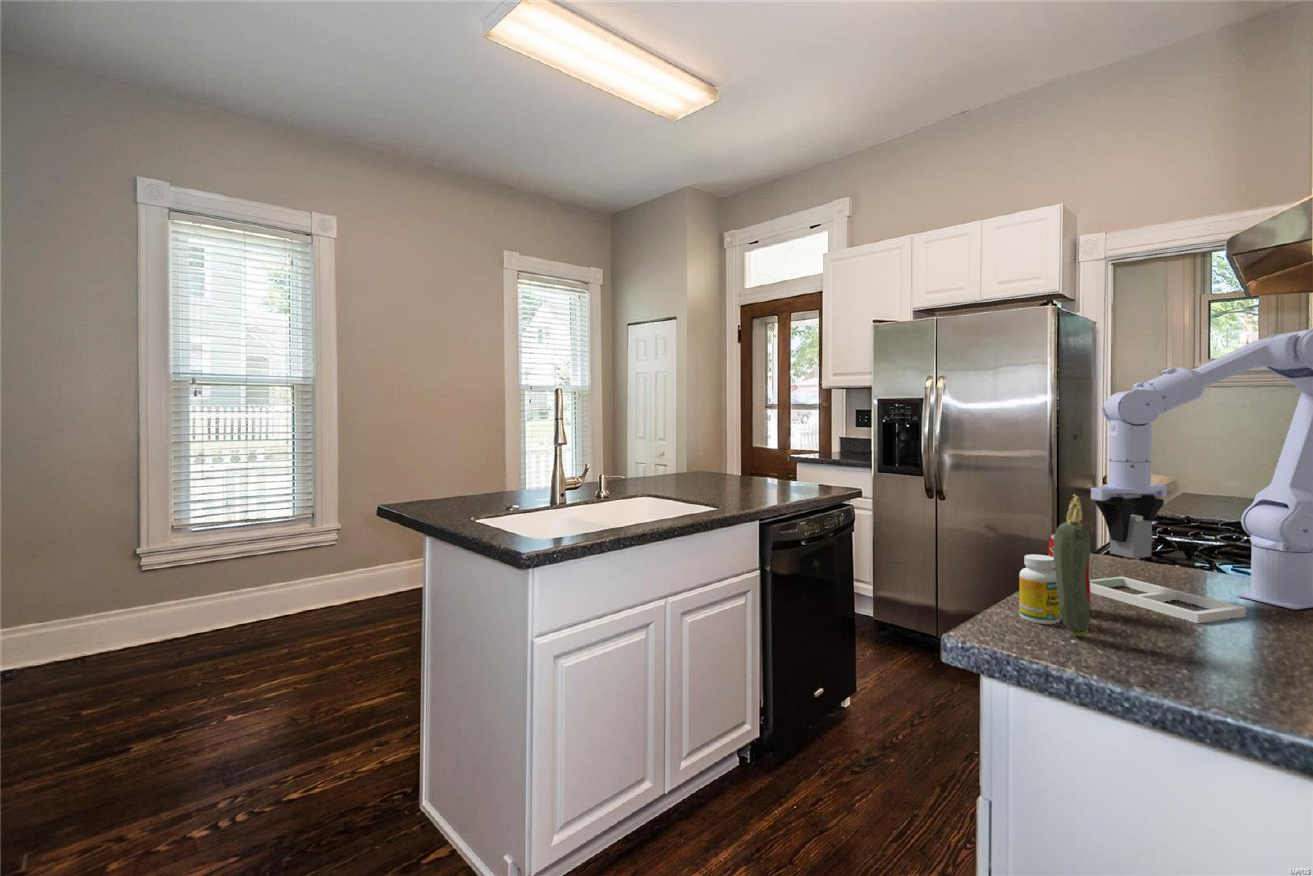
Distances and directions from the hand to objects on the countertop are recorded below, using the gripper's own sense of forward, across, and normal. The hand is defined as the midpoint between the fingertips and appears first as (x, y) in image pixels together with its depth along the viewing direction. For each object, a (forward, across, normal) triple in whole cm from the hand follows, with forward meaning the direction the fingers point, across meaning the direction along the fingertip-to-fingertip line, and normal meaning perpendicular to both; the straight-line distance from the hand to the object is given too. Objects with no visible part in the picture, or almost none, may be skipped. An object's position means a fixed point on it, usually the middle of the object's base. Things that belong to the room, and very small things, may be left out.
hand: (1128, 540), depth 105 cm
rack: (+9, 0, +4) cm, 10 cm away
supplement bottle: (+10, +25, +6) cm, 27 cm away
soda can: (+10, +17, +4) cm, 20 cm away
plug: (+2, 0, 0) cm, 3 cm away
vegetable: (+10, +27, +12) cm, 31 cm away
